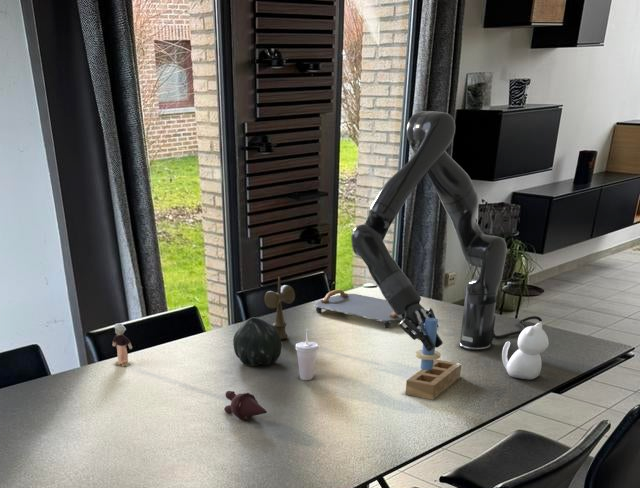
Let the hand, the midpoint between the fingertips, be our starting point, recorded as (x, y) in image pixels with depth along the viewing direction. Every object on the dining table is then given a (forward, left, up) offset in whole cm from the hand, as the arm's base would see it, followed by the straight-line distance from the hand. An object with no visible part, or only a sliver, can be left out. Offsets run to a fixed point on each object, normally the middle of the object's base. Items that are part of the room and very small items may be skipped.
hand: (435, 347), depth 190 cm
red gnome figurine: (+48, -20, -13) cm, 53 cm away
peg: (0, -2, -6) cm, 6 cm away
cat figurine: (-29, +7, -13) cm, 33 cm away
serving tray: (-43, -67, -13) cm, 81 cm away
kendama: (-1, -66, -13) cm, 67 cm away
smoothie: (+17, -32, -13) cm, 38 cm away
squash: (+19, -52, -13) cm, 57 cm away
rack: (-5, -4, -13) cm, 15 cm away
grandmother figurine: (+51, -78, -13) cm, 94 cm away
